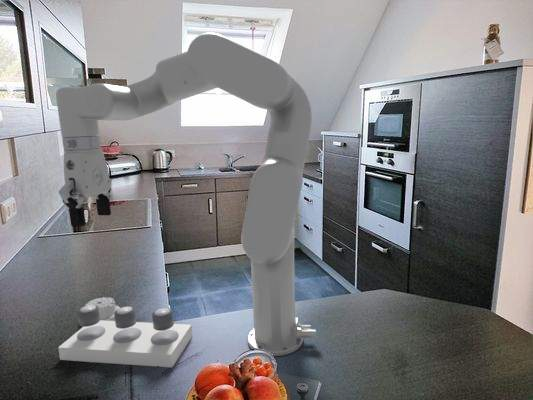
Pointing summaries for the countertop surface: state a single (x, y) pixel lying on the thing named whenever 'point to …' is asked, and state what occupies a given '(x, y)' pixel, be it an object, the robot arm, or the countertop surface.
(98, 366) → the countertop surface
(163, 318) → the knob near
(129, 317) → the knob middle
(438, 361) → the countertop surface
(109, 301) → the mechanical component
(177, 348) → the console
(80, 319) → the knob far
